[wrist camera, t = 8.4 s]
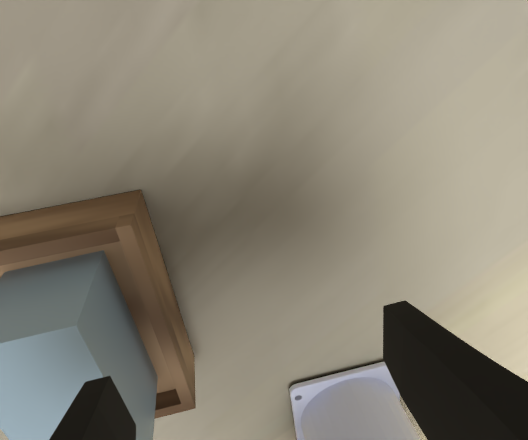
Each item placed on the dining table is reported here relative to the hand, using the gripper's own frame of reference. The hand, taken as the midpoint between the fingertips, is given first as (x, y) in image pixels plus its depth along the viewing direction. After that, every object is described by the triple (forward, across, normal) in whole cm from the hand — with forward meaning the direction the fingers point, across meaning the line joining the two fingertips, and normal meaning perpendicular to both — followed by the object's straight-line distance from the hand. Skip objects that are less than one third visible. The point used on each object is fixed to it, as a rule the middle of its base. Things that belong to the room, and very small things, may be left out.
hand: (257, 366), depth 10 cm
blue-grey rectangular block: (+7, +7, +4) cm, 11 cm away
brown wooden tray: (+10, +7, +4) cm, 13 cm away
